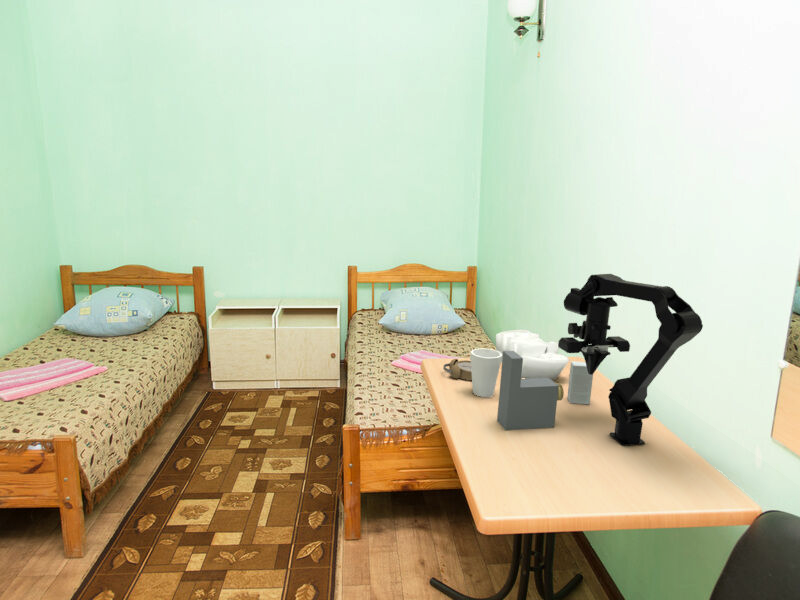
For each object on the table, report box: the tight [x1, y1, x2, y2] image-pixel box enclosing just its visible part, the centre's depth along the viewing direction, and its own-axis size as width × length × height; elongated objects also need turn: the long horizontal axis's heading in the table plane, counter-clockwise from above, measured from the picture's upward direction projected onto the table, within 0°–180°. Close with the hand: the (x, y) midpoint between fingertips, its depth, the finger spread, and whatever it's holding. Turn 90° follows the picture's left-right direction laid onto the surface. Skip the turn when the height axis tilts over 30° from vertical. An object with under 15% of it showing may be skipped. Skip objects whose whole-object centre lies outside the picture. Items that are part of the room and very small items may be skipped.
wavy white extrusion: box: [495, 329, 570, 382], centre depth 199 cm, size 35×16×11 cm, turn 10°
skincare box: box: [566, 360, 594, 405], centre depth 170 cm, size 6×4×12 cm
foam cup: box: [469, 347, 502, 398], centre depth 173 cm, size 10×9×13 cm
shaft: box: [555, 382, 565, 402], centre depth 153 cm, size 5×13×5 cm, turn 102°
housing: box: [496, 351, 559, 431], centre depth 152 cm, size 6×14×20 cm, turn 102°
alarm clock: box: [443, 358, 472, 381], centre depth 189 cm, size 11×5×15 cm
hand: (590, 374), depth 157 cm, fingers closed
